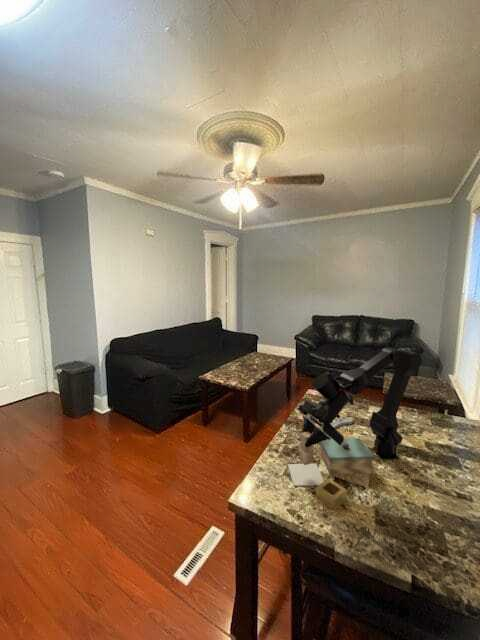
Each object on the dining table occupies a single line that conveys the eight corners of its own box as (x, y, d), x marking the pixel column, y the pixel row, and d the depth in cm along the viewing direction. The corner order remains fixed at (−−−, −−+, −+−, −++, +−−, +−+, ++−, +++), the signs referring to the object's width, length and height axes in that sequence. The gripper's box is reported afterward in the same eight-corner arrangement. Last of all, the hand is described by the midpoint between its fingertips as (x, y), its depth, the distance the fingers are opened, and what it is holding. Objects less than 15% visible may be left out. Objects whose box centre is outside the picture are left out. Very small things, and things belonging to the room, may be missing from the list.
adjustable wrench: (316, 440, 112) (316, 436, 112) (304, 433, 118) (304, 429, 117) (355, 422, 125) (355, 419, 125) (342, 417, 131) (343, 413, 131)
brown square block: (307, 457, 93) (308, 431, 92) (312, 463, 90) (313, 436, 89) (299, 459, 92) (300, 432, 91) (304, 465, 89) (305, 437, 88)
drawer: (358, 453, 102) (359, 435, 101) (373, 473, 92) (374, 453, 91) (319, 454, 102) (320, 436, 101) (329, 474, 92) (329, 454, 91)
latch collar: (328, 486, 86) (328, 478, 86) (346, 499, 82) (346, 489, 81) (315, 496, 83) (316, 487, 82) (334, 509, 78) (334, 500, 77)
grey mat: (316, 464, 97) (316, 463, 97) (325, 485, 87) (325, 484, 87) (287, 465, 97) (287, 464, 97) (293, 486, 87) (293, 485, 87)
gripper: (302, 382, 98) (274, 416, 96) (336, 404, 80) (302, 447, 79) (321, 399, 102) (294, 433, 100) (357, 424, 84) (325, 466, 82)
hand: (302, 443), depth 90 cm, fingers closed on brown square block, 3 cm apart
